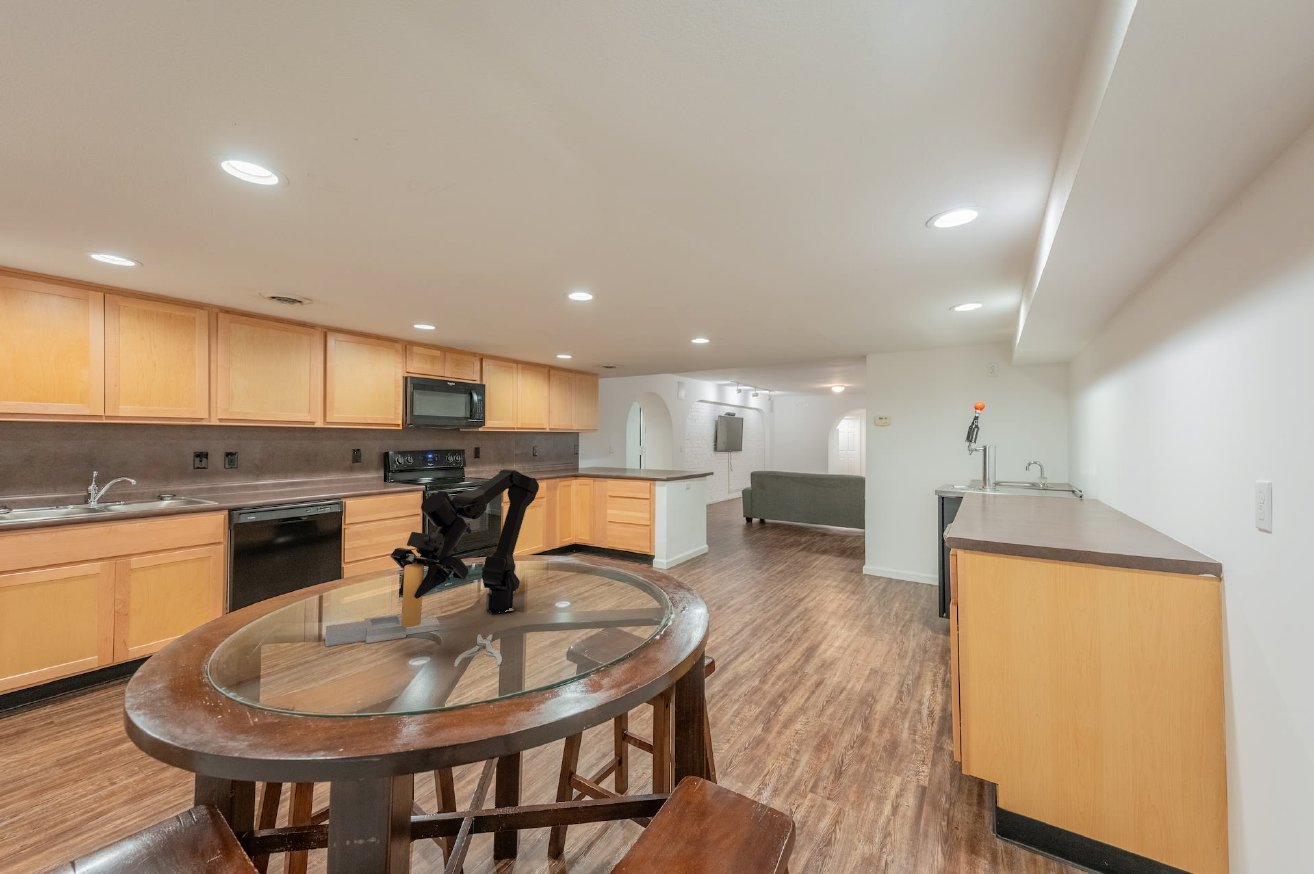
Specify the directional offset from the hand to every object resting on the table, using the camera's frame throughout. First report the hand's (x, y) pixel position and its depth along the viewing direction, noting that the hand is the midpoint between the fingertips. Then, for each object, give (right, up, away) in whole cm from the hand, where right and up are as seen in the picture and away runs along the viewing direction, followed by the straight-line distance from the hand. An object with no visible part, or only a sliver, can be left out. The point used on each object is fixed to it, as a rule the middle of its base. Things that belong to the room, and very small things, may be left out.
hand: (407, 596), depth 114 cm
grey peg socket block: (-11, -13, +11) cm, 20 cm away
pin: (0, -7, +1) cm, 7 cm away
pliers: (+15, -15, +5) cm, 22 cm away
